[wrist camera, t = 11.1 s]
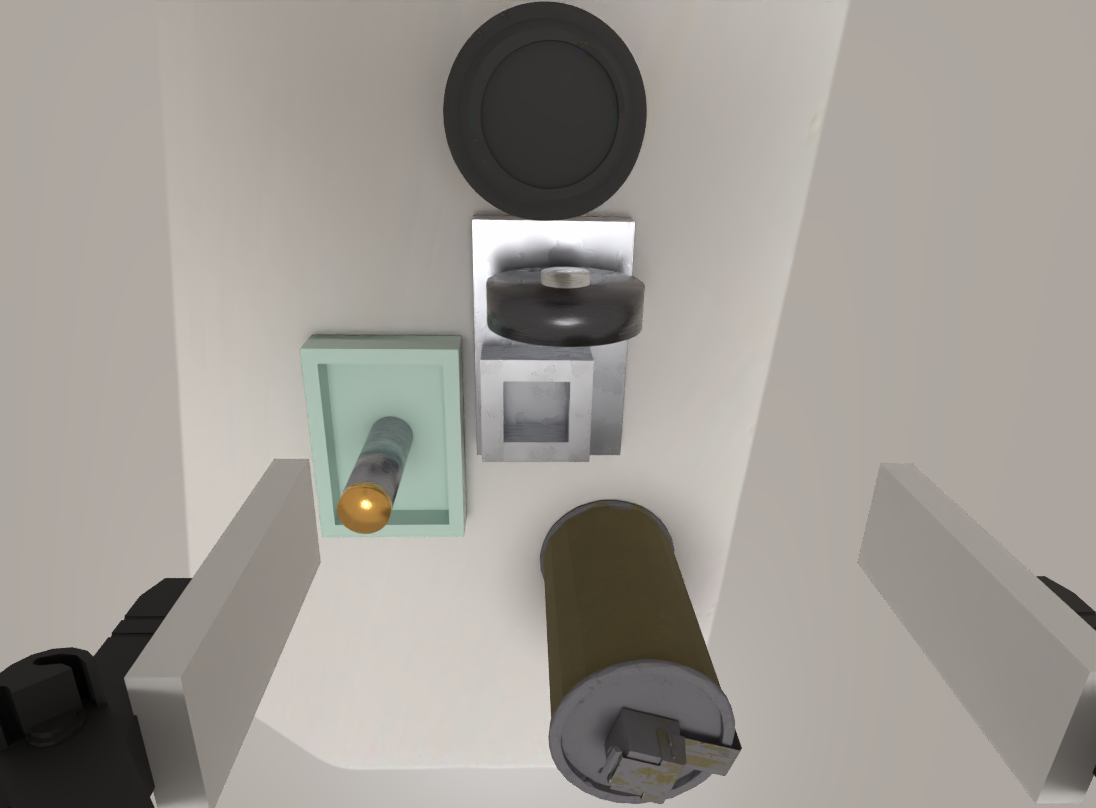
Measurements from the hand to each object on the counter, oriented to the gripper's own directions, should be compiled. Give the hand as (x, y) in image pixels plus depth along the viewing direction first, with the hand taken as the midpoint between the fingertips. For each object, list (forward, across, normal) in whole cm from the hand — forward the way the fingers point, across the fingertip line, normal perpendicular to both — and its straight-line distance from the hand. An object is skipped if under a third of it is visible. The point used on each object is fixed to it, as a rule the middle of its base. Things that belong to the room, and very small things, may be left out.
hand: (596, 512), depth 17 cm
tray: (+32, -10, -13) cm, 36 cm away
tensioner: (+32, 0, -6) cm, 33 cm away
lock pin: (+31, -10, -13) cm, 36 cm away
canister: (+33, +6, -24) cm, 41 cm away
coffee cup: (+33, -1, +8) cm, 34 cm away
